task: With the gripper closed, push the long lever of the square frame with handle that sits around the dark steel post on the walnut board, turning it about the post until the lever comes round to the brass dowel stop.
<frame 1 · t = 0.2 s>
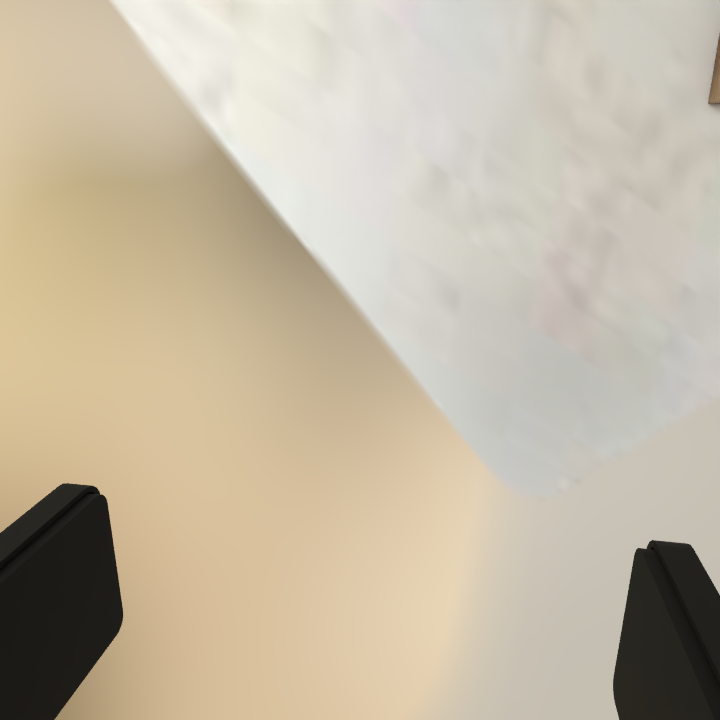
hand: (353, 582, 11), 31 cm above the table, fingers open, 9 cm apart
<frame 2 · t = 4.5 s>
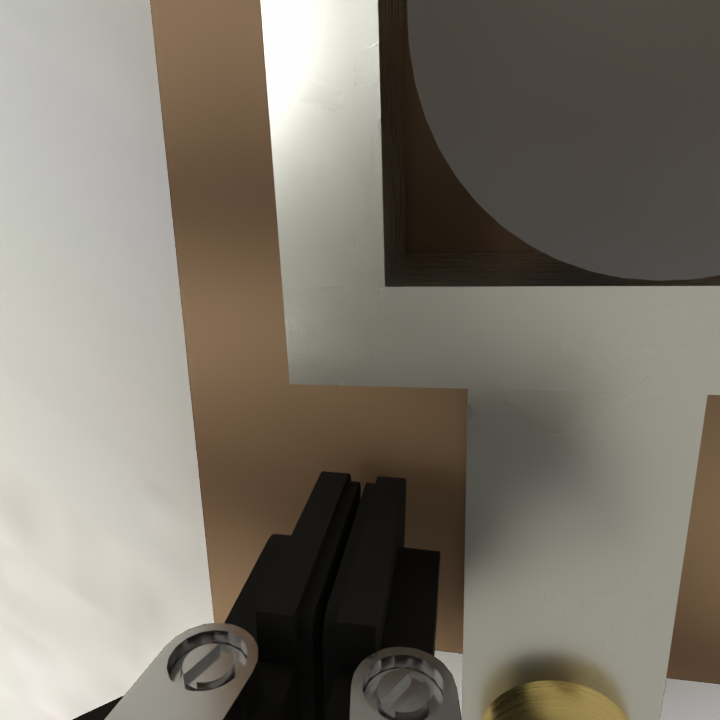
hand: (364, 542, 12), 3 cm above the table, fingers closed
square frame with handle: (572, 337, 9), point 4 cm above the table, hinge at 1.6°, touching gripper
board: (653, 234, 12), on the table
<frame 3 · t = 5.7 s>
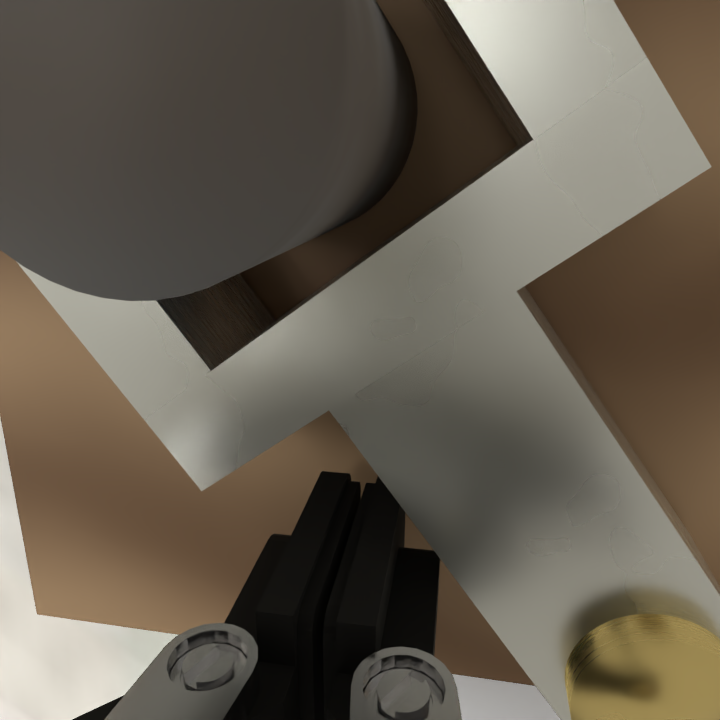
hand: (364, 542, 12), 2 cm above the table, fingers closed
square frame with handle: (409, 309, 9), point 4 cm above the table, hinge at 36.7°, touching gripper
board: (419, 251, 12), on the table
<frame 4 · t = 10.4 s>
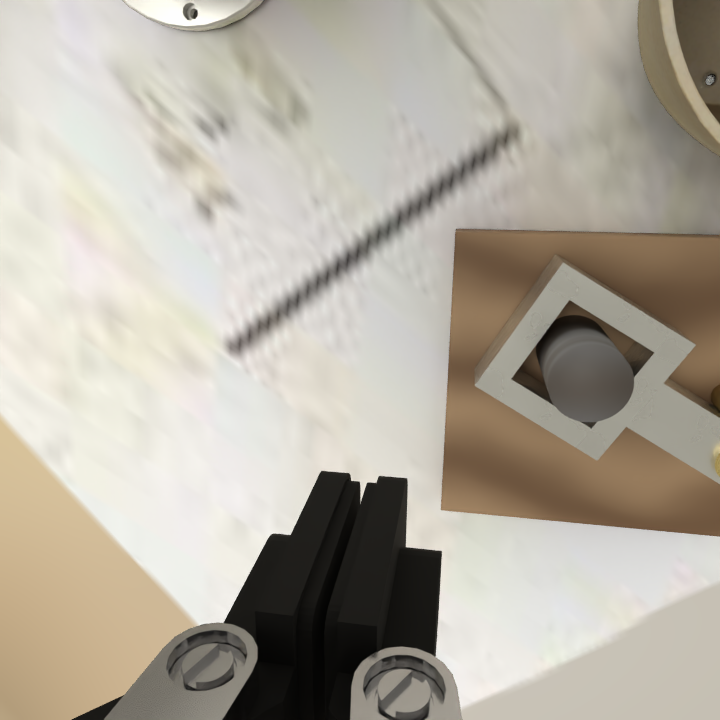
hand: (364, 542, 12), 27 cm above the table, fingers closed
square frame with handle: (632, 393, 34), point 3 cm above the table, hinge at 60.2°, touching board
board: (597, 382, 38), on the table
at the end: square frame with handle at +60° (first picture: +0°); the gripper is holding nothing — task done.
